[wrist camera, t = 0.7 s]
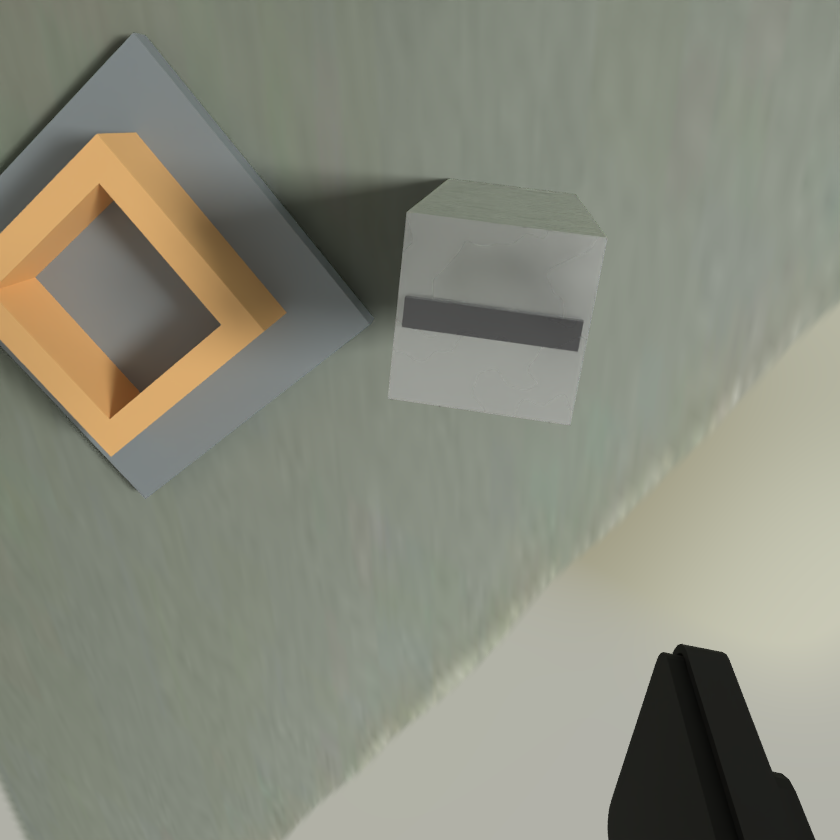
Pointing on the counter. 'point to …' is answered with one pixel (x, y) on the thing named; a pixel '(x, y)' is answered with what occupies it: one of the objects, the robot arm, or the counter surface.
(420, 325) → the block
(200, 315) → the collar plate
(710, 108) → the counter surface
